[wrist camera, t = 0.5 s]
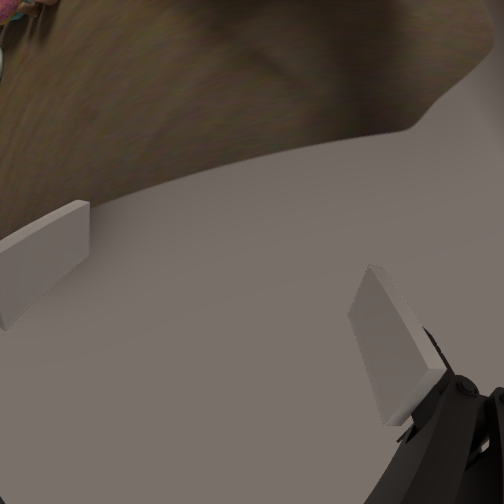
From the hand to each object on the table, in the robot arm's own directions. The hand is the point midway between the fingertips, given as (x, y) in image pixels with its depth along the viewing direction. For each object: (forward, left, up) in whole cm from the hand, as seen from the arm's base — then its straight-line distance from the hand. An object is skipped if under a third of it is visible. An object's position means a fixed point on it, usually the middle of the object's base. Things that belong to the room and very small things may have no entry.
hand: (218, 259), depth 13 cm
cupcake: (-29, -49, -27) cm, 63 cm away
